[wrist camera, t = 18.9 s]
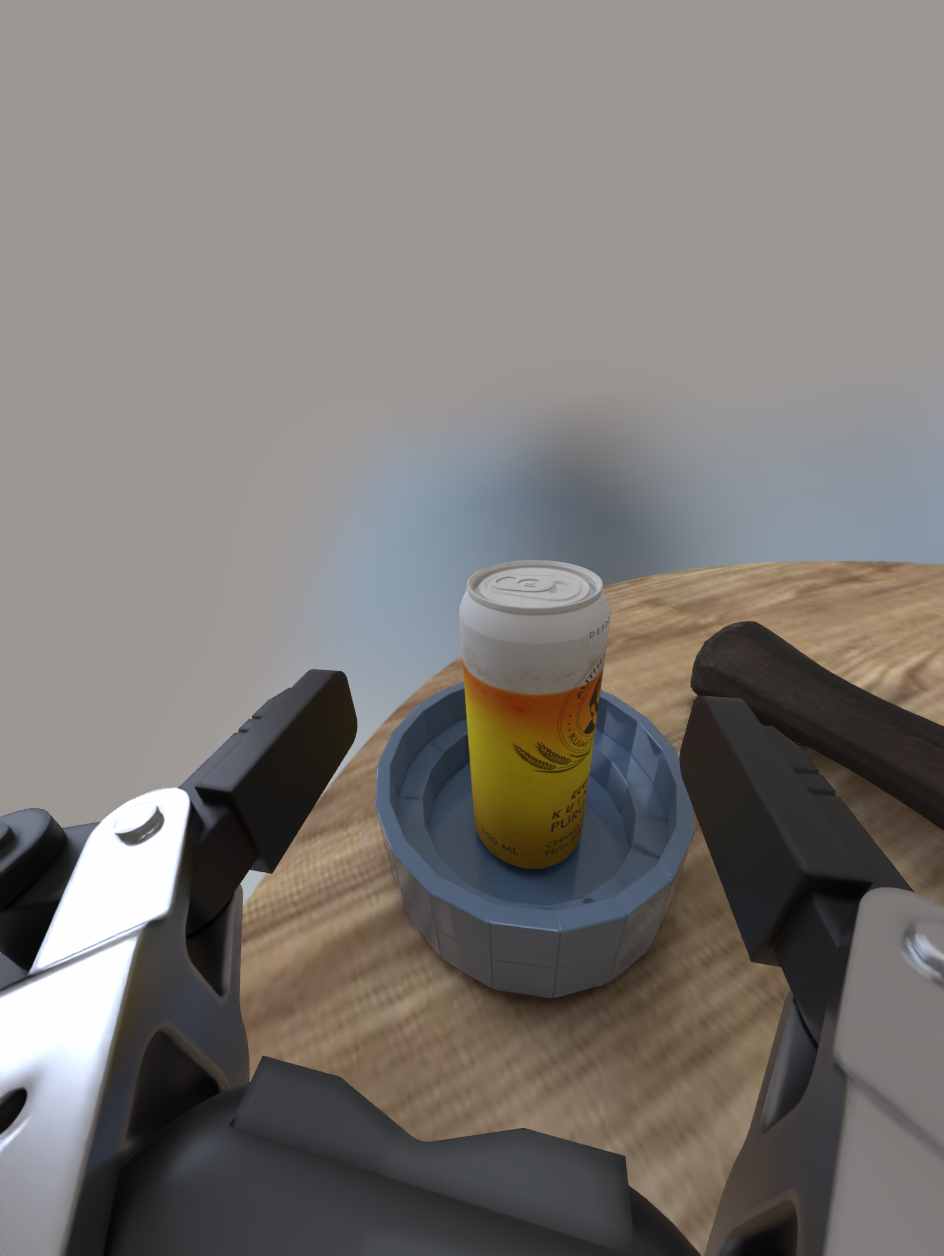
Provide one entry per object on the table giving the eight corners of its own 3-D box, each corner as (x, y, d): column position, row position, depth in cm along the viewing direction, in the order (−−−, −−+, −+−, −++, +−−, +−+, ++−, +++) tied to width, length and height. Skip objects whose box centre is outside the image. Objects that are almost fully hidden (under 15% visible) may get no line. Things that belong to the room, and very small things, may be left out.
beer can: (574, 895, 18) (611, 622, 12) (459, 856, 20) (431, 603, 13) (585, 794, 23) (616, 561, 17) (492, 771, 25) (484, 554, 18)
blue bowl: (333, 902, 19) (304, 828, 17) (466, 716, 32) (461, 655, 29) (663, 1101, 13) (703, 1035, 10) (670, 774, 25) (689, 704, 23)
